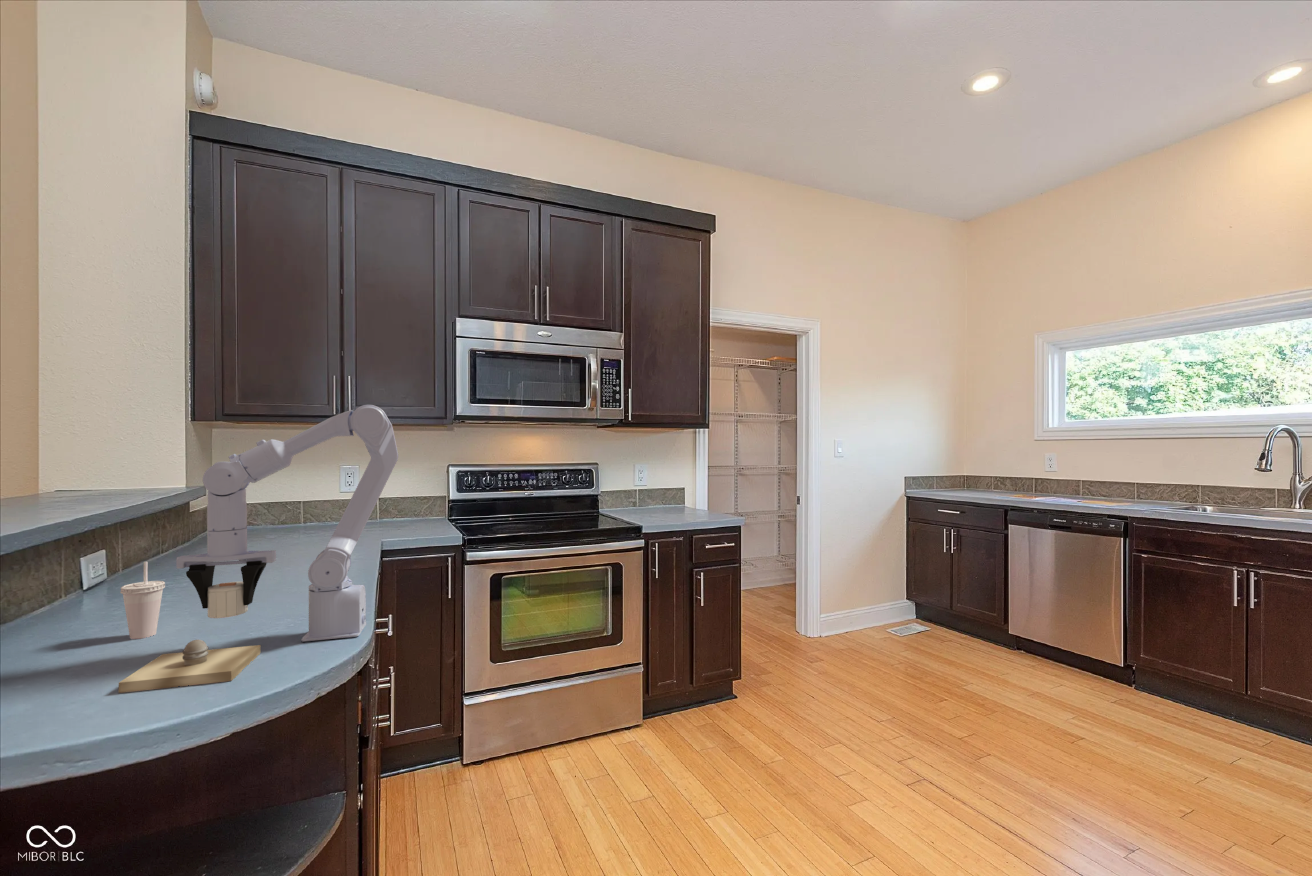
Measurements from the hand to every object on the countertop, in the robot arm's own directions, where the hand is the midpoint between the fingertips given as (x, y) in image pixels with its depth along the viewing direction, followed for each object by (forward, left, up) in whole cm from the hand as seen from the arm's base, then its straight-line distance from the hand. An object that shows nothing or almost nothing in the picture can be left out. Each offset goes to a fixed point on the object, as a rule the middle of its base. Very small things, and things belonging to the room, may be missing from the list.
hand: (227, 605), depth 103 cm
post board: (0, +12, -7) cm, 14 cm away
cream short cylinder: (0, 0, -1) cm, 1 cm away
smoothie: (+18, -12, -8) cm, 23 cm away
